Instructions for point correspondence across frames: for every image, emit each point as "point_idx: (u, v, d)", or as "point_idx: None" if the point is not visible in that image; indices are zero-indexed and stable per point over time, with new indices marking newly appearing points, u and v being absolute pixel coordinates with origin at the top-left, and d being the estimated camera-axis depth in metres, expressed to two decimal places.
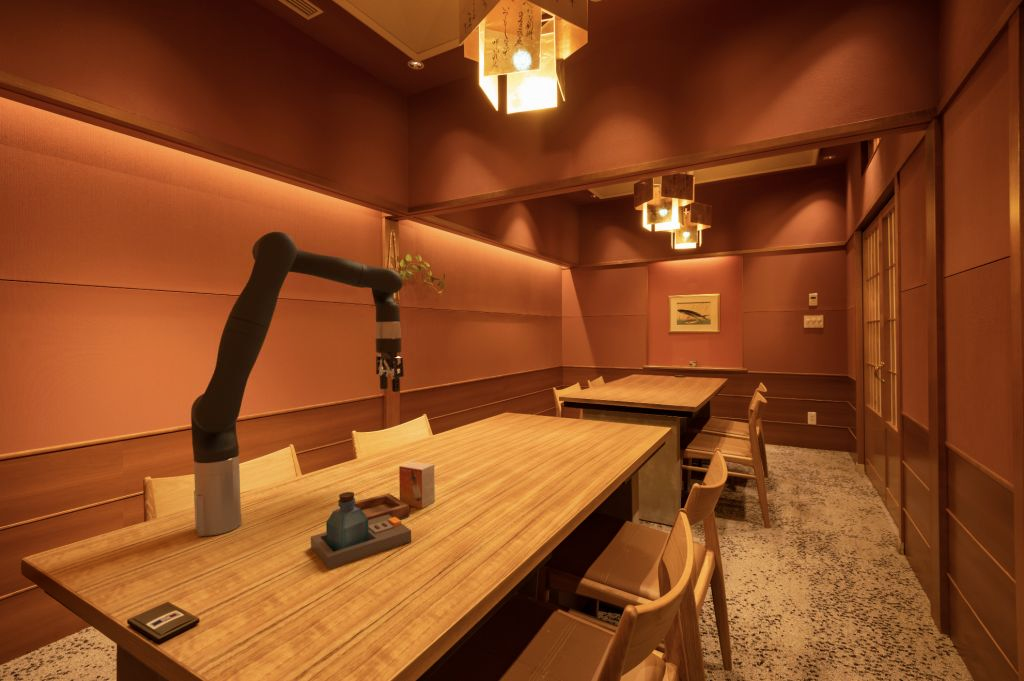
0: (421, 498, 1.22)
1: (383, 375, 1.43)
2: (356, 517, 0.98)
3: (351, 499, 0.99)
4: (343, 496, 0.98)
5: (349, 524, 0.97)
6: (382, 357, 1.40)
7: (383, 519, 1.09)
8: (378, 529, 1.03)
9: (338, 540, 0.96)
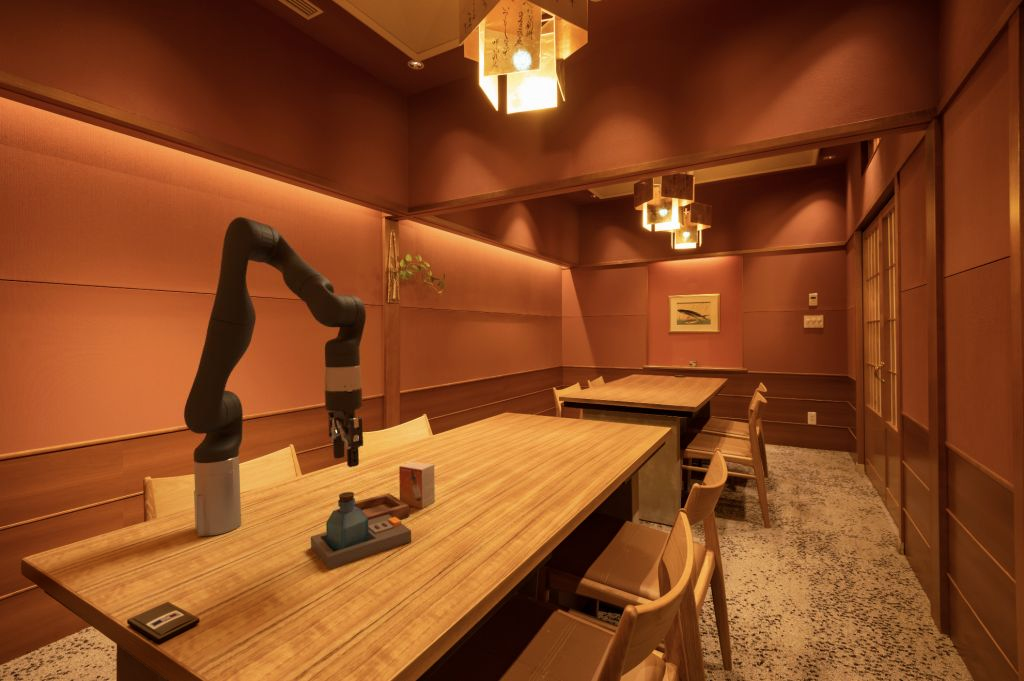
0: (421, 498, 1.22)
1: (338, 439, 1.02)
2: (356, 517, 0.98)
3: (351, 499, 0.99)
4: (343, 496, 0.98)
5: (349, 524, 0.97)
6: (335, 415, 1.00)
7: (383, 519, 1.09)
8: (378, 529, 1.03)
9: (338, 540, 0.96)
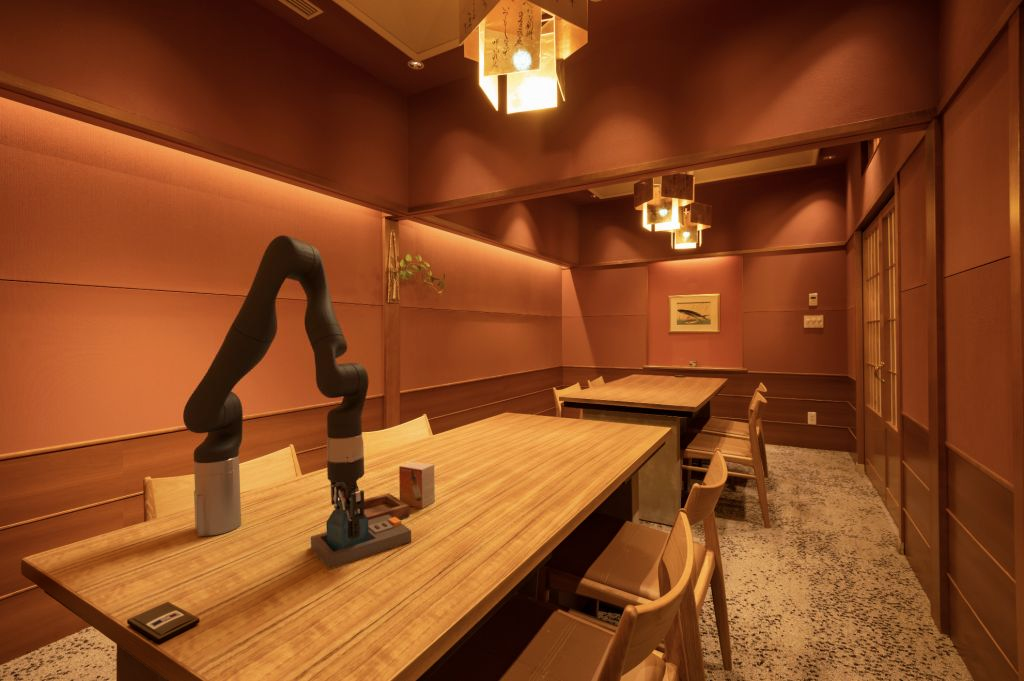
0: (421, 498, 1.22)
1: None
2: None
3: None
4: None
5: None
6: (337, 482, 1.00)
7: (383, 519, 1.09)
8: (378, 529, 1.03)
9: (339, 540, 0.96)
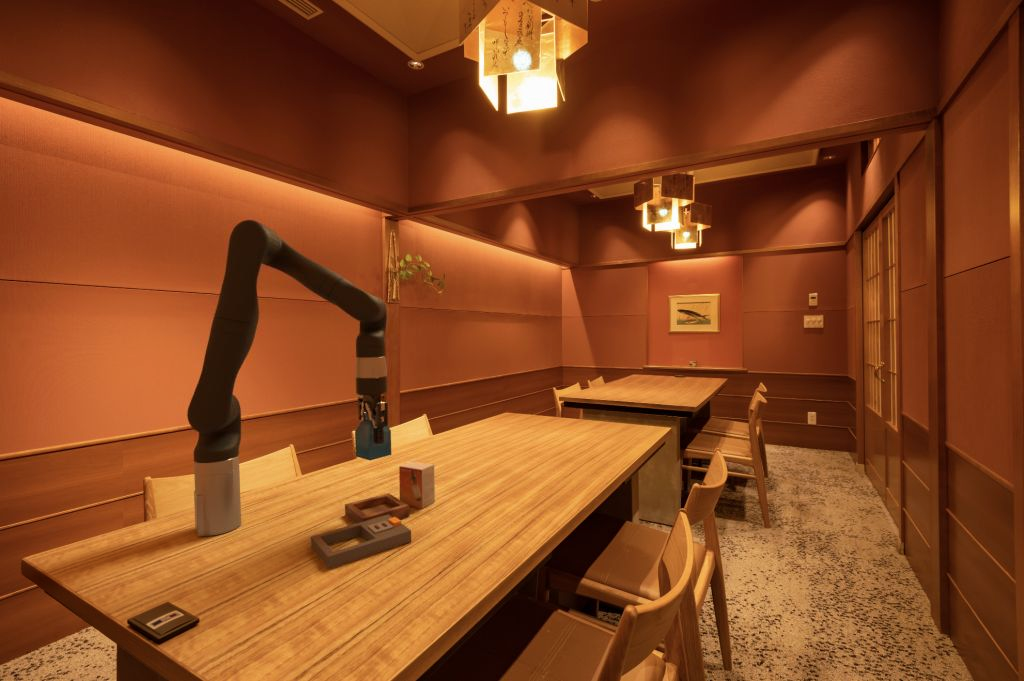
0: (421, 498, 1.22)
1: None
2: None
3: None
4: None
5: None
6: (364, 398, 1.16)
7: (383, 519, 1.09)
8: (378, 529, 1.03)
9: (366, 445, 1.12)
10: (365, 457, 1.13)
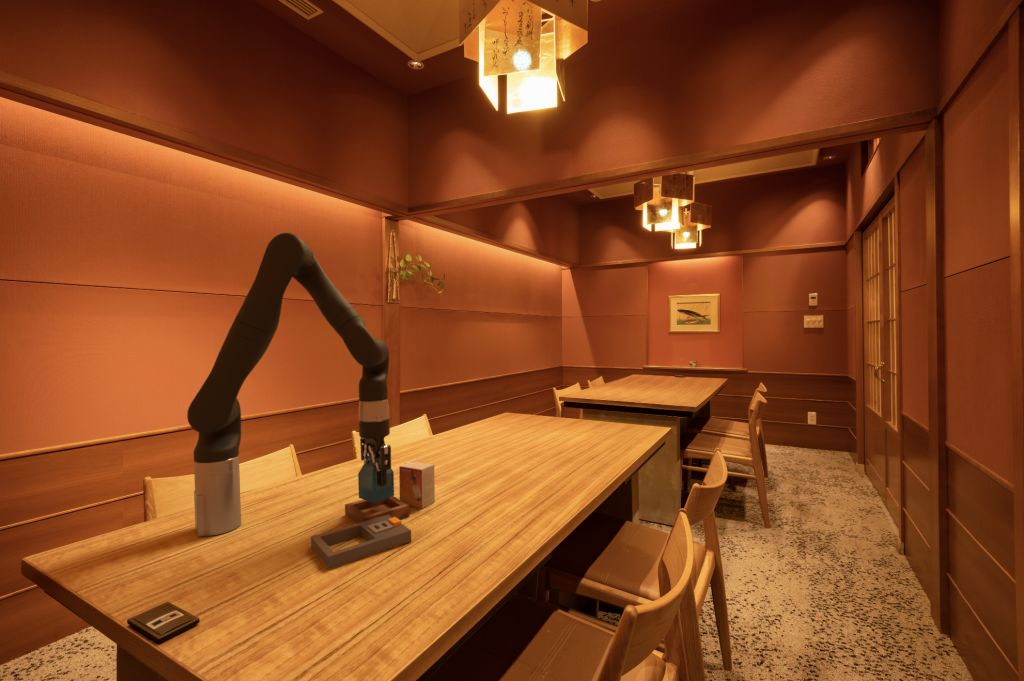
0: (421, 498, 1.22)
1: None
2: None
3: None
4: None
5: None
6: (367, 440, 1.18)
7: (383, 519, 1.09)
8: (378, 529, 1.03)
9: (369, 487, 1.14)
10: (368, 499, 1.14)
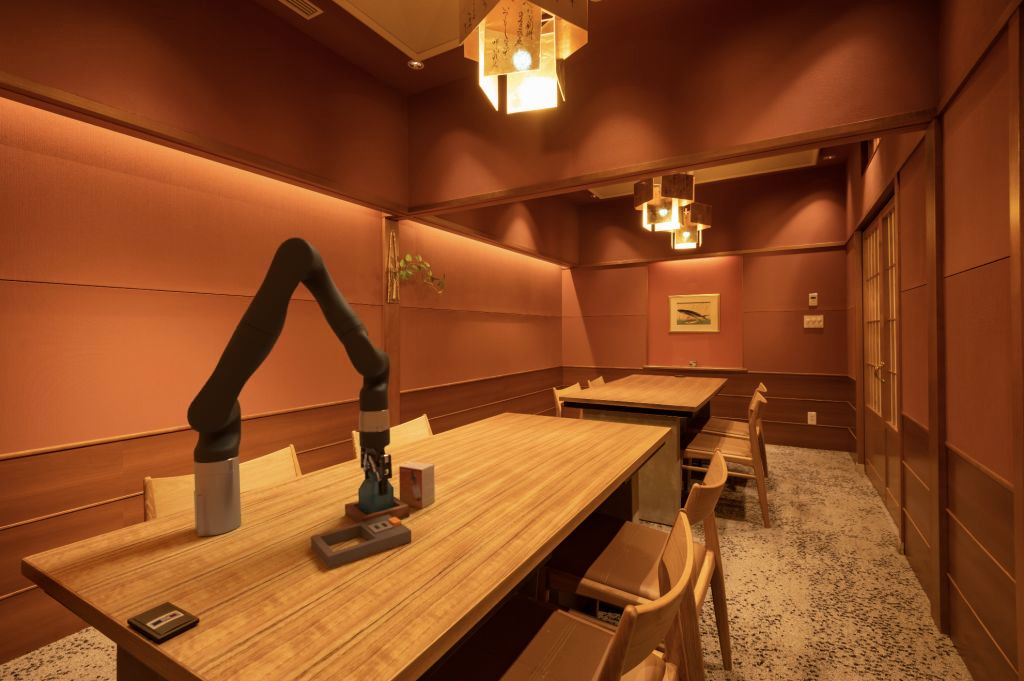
0: (421, 498, 1.22)
1: (369, 470, 1.20)
2: None
3: None
4: (372, 467, 1.16)
5: None
6: (367, 450, 1.18)
7: (383, 519, 1.09)
8: (378, 529, 1.03)
9: (369, 504, 1.14)
10: None
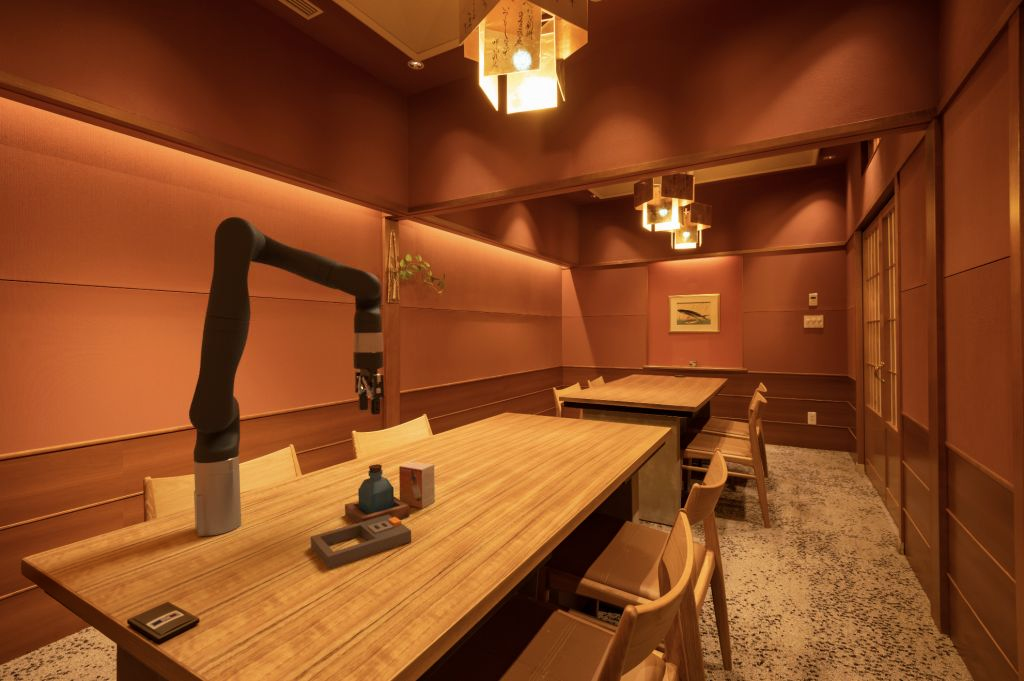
0: (421, 498, 1.22)
1: (363, 394, 1.24)
2: (383, 485, 1.16)
3: (379, 470, 1.16)
4: (372, 467, 1.16)
5: (378, 491, 1.14)
6: (361, 373, 1.21)
7: (383, 519, 1.09)
8: (378, 529, 1.03)
9: (369, 504, 1.14)
10: None
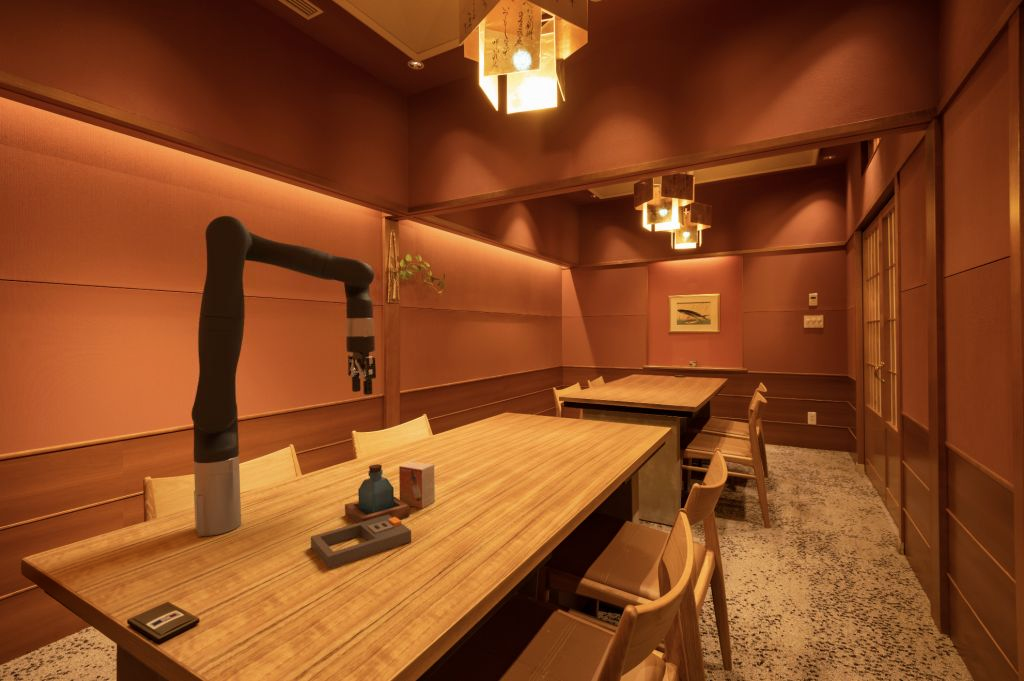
0: (421, 498, 1.22)
1: (355, 376, 1.31)
2: (383, 485, 1.16)
3: (379, 470, 1.16)
4: (372, 467, 1.16)
5: (378, 491, 1.14)
6: (354, 357, 1.29)
7: (383, 519, 1.09)
8: (378, 529, 1.03)
9: (369, 504, 1.14)
10: None
